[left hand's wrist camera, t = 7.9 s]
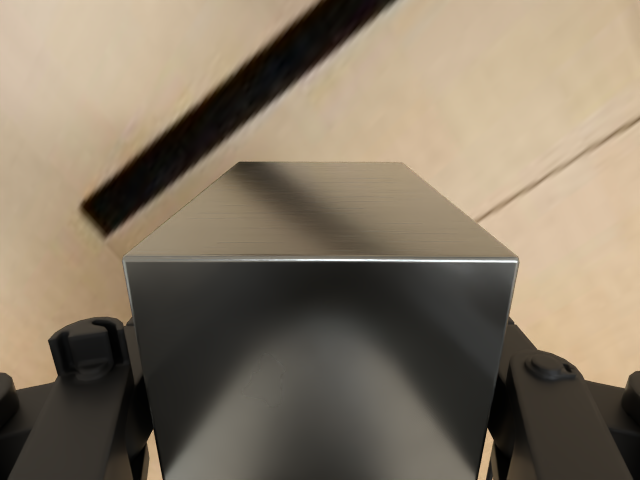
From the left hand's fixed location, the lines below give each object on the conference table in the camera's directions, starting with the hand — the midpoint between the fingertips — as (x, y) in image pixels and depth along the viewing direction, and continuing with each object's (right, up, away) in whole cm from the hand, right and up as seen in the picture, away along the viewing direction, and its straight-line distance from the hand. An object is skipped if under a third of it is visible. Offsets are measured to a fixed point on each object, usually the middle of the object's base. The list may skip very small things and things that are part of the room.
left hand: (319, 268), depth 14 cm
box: (0, -6, +3) cm, 7 cm away
